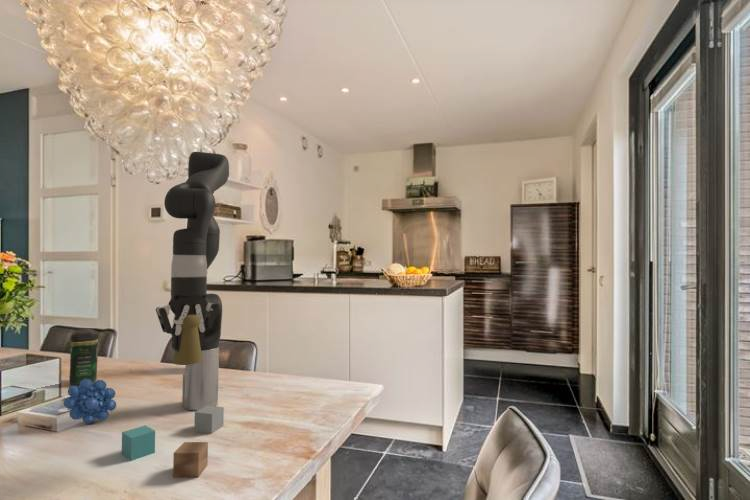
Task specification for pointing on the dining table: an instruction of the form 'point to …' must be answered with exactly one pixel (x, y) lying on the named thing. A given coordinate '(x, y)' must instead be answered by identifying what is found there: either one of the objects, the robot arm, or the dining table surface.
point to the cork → (189, 342)
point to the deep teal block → (138, 442)
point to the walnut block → (190, 460)
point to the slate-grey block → (209, 419)
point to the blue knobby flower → (90, 401)
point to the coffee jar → (83, 356)
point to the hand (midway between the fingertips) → (187, 349)
